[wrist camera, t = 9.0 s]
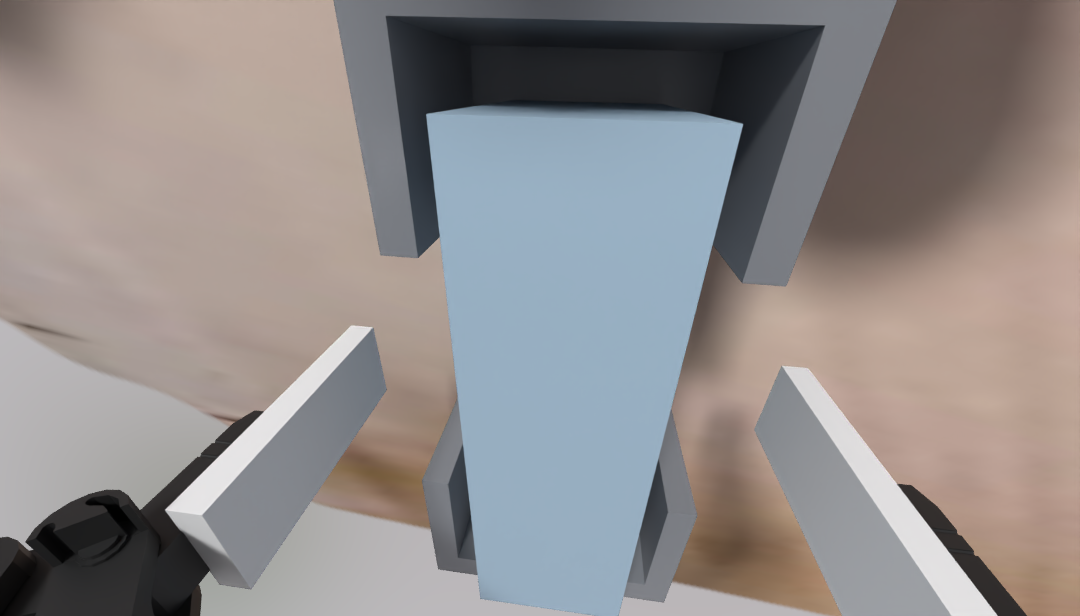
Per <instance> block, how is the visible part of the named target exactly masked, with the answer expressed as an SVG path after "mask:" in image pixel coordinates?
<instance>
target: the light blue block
mask: <svg viewBox="0 0 1080 616" xmlns="http://www.w3.org/2000/svg"><path fill="white" fill-rule="evenodd" d="M426 117H427V126H428V135H429V144H430V153H431V162H432V171H433V180H434V189H435V198H436V207H437V216H438V224H439V233H440V242H441V251H442V260H443V269H444V278H445V287H446V296H447V305H448V314H449V323H450V332H451V341H452V350H453V359H454V368H455V376H456V385H457V394H458V403H459V412H460V421H461V430H462V439H463V448H464V457H465V466H466V475H467V484H468V493H469V502H470V511H471V520H472V529H473V537H474V546H475V555H476V564H477V573H478V582H479V591H480V599H485V600H493V601H499V602H506V603H513V604H519V605H526V606H533V607H540V608H547V609H554V610H560V611H567V612H574V613H581V614H588V615H594V616H619V612H620V608H621V604H622V600H623V596H624V592H625V588H626V584H627V580H628V576H629V572H630V568H631V564H632V560H633V557H634V553H635V549H636V545H637V541H638V537H639V533H640V529H641V525H642V521H643V517H644V513H645V509H646V505H647V501H648V497H649V493H650V490H651V486H652V482H653V478H654V474H655V470H656V466H657V462H658V458H659V454H660V450H661V446H662V442H663V438H664V434H665V430H666V426H667V422H668V419H669V415H670V411H671V407H672V403H673V399H674V395H675V391H676V387H677V383H678V379H679V375H680V371H681V367H682V363H683V359H684V355H685V352H686V348H687V344H688V340H689V336H690V332H691V328H692V324H693V320H694V316H695V312H696V308H697V304H698V300H699V296H700V292H701V288H702V284H703V281H704V277H705V273H706V269H707V265H708V261H709V257H710V253H711V249H712V245H713V241H714V237H715V233H716V229H717V225H718V221H719V217H720V214H721V210H722V206H723V202H724V198H725V194H726V190H727V186H728V182H729V178H730V174H731V170H732V166H733V162H734V158H735V154H736V150H737V146H738V143H739V139H740V135H741V131H742V127H743V124H742V123H738V122H734V121H729V120H725V119H721V118H717V117H713V116H709V115H705V114H701V113H697V112H693V111H689V110H685V109H680V108H676V107H672V106H668V105H664V104H644V103H607V102H570V101H533V100H509V101H503V102H497V103H491V104H485V105H478V106H472V107H466V108H460V109H454V110H448V111H442V112H435V113H429V114H426Z"/></svg>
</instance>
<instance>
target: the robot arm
mask: <svg viewBox="0 0 1080 616" xmlns="http://www.w3.org/2000/svg"><path fill="white" fill-rule="evenodd" d="M386 390H387V389H386V385H385V380H384V375H383V371H382V366H381V361H380V357H379V352H378V348H377V343H376V338H375V334H374V329H373V327H363V326H353V325H351V326H350V327H349V328H348V329H347V330H346V331H345V332H344V333H343V334H342V335H341V336H340V337H339V338H338V339H337V340H336V341H335V342H334V343H333V344H332V345H331V346H330V347H329V348H328V349H327V350H326V351H325V352H324V353H323V354H322V355H321V356H320V357H319V358H318V359H317V360H316V361H315V362H314V363H313V364H312V365H311V366H310V367H309V368H308V369H307V370H306V371H305V372H304V373H303V374H302V375H301V376H300V377H299V378H298V379H297V380H296V381H295V382H294V383H293V384H292V385H291V386H290V387H289V388H288V389H287V390H286V391H285V392H284V393H283V394H282V395H281V396H280V397H279V398H278V399H277V400H276V401H275V402H274V403H273V404H272V405H271V406H270V407H269V408H267V409H266V410H265V411H253V412H251V413H250V414H248V415H246V416H245V417H243V418H242V419H240V420H238V421H237V422H235V423H233V424H232V425H231V426H230V427H229V428H228V429H227V430H226V431H225V432H223V433H222V434H221V435H220V436H219V437H218V438H217V439H216V441H215V443H212V444H211V445H210V446H209V447H207V448H206V449H205V450H204V451H203V452H202V453H201V456H200V457H197V458H196V459H195V460H194V461H193V462H191V463H190V464H189V465H188V466H187V467H186V468H185V469H184V470H183V471H182V472H181V473H180V474H179V475H178V476H177V477H175V478H174V479H173V480H172V481H171V482H170V483H169V484H168V485H167V486H166V487H165V488H164V489H163V490H162V491H161V492H160V493H158V494H157V495H156V496H155V497H154V498H153V499H152V500H151V501H150V502H149V503H148V504H147V505H146V506H145V507H143V509H141V510H139V509H138V507H137V506H136V505H135V504H134V502H133V501H132V500H131V499H130V497H129V496H128V495H127V494H125V493H124V492H122V491H121V490H104V491H99V492H95V493H92V494H88V495H86V496H84V497H81V498H79V499H77V500H75V501H72V502H70V503H68V504H67V505H65V506H64V507H62V508H60V509H59V510H57V511H56V512H54V513H52V514H51V515H50V516H48V517H47V518H46V519H45V520H44V521H43V522H42V523H41V524H39V525H38V526H37V527H36V528H35V529H34V530H33V532H32V533H31V535H30V536H29V537H28V539H27V540H26V543H27V544H28V545H29V546H30V547H31V548H32V549H33V550H31V551H29V550H27V549H26V548H25V547H24V546H23V545H22V544H21V543H20V542H19V541H17V540H15V539H12V538H10V537H2V538H0V616H200V610H201V596H202V595H201V590H200V586H199V585H198V584H199V583H200V582H201V581H202V579H203V578H204V577H205V575H206V574H207V573H208V572H209V571H210V572H211V573H212V575H213V576H214V578H215V579H216V580H217V581H218V583H219V584H220V585H226V586H232V587H239V588H245V589H252V587H253V586H254V585H255V583H256V581H257V580H258V579H259V577H260V576H261V574H262V573H263V571H264V570H265V568H266V567H267V565H268V564H269V562H270V561H271V559H272V558H273V557H274V555H275V554H276V552H277V551H278V549H279V548H280V546H281V545H282V543H283V542H284V540H285V539H286V537H287V536H288V534H289V533H290V532H291V530H292V529H293V527H294V526H295V524H296V523H297V521H298V520H299V518H300V517H301V515H302V514H303V512H304V511H305V509H306V508H307V506H308V505H309V504H310V502H311V501H312V499H313V498H314V496H315V495H316V493H317V492H318V490H319V489H320V487H321V486H322V484H323V483H324V481H325V480H326V479H327V477H328V476H329V474H330V473H331V471H332V470H333V468H334V467H335V465H336V464H337V462H338V461H339V459H340V458H341V456H342V455H343V454H344V452H345V451H346V449H347V448H348V446H349V445H350V443H351V442H352V440H353V439H354V437H355V436H356V434H357V433H358V431H359V430H360V428H361V427H362V426H363V424H364V423H365V421H366V420H367V418H368V417H369V415H370V414H371V412H372V411H373V409H374V408H375V406H376V405H377V403H378V402H379V401H380V399H381V398H382V396H383V395H384V393H385V392H386ZM754 430H755V432H756V434H757V436H758V439H759V441H760V443H761V445H762V447H763V449H764V451H765V453H766V455H767V458H768V460H769V462H770V464H771V466H772V468H773V470H774V472H775V475H776V477H777V479H778V481H779V483H780V485H781V487H782V489H783V491H784V494H785V496H786V498H787V500H788V502H789V504H790V506H791V508H792V511H793V513H794V515H795V517H796V519H797V521H798V523H799V525H800V527H801V530H802V532H803V534H804V536H805V538H806V540H807V542H808V544H809V547H810V549H811V551H812V553H813V555H814V557H815V559H816V561H817V563H818V566H819V568H820V570H821V572H822V574H823V576H824V578H825V580H826V583H827V585H828V587H829V589H830V591H831V593H832V595H833V597H834V599H835V602H836V604H837V606H838V608H839V610H840V612H841V614H842V616H1027V615H1026V614H1025V613H1024V611H1023V610H1022V609H1021V608H1020V606H1019V605H1018V604H1017V603H1016V602H1015V600H1014V599H1013V598H1012V597H1011V596H1010V594H1009V593H1008V592H1007V591H1006V589H1005V588H1004V587H1003V586H1002V585H1001V583H1000V582H999V581H998V580H997V578H996V577H995V576H994V575H993V574H992V572H991V571H990V570H989V569H988V568H987V566H986V565H985V564H984V563H983V561H982V560H981V559H980V558H979V557H978V556H975V555H974V551H973V549H972V548H971V547H970V546H969V544H968V543H967V542H966V541H965V540H964V538H963V537H962V536H960V535H958V534H957V530H956V529H955V527H954V526H953V525H952V524H951V523H950V521H949V520H948V519H947V518H946V516H945V515H944V514H943V513H942V512H941V510H940V509H939V508H938V507H937V506H936V505H935V504H934V503H932V502H931V501H930V500H929V499H927V498H926V497H925V496H924V495H923V494H921V493H920V492H919V491H918V490H917V489H915V488H914V487H913V486H912V485H903V484H896V482H895V481H894V480H893V479H892V477H891V476H890V475H889V473H888V472H887V471H886V469H885V468H884V467H883V465H882V464H881V463H880V462H879V460H878V459H877V458H876V456H875V455H874V454H873V452H872V451H871V450H870V449H869V447H868V446H867V445H866V443H865V442H864V441H863V439H862V438H861V437H860V435H859V434H858V433H857V432H856V430H855V429H854V428H853V426H852V425H851V424H850V422H849V421H848V420H847V418H846V417H845V416H844V415H843V413H842V412H841V411H840V409H839V408H838V407H837V405H836V404H835V403H834V402H833V400H832V399H831V398H830V396H829V395H828V394H827V392H826V391H825V390H824V388H823V387H822V386H821V385H820V383H819V382H818V381H817V379H816V378H815V377H814V375H813V374H812V373H811V372H810V370H809V369H808V368H801V367H790V366H781V369H780V371H779V373H778V376H777V378H776V380H775V383H774V385H773V387H772V390H771V392H770V394H769V397H768V399H767V401H766V404H765V406H764V408H763V411H762V413H761V415H760V418H759V420H758V422H757V424H756V427H755V429H754Z"/></svg>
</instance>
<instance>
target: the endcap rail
mask: <svg viewBox="0 0 1080 616" xmlns="http://www.w3.org/2000/svg"><path fill="white" fill-rule="evenodd" d="M896 1H897V0H334V6H335V11H336V17H337V22H338V27H339V33H340V38H341V44H342V49H343V55H344V60H345V65H346V71H347V76H348V82H349V87H350V93H351V98H352V103H353V109H354V114H355V120H356V125H357V131H358V136H359V141H360V147H361V152H362V158H363V163H364V169H365V174H366V179H367V185H368V190H369V196H370V201H371V207H372V212H373V217H374V223H375V228H376V234H377V239H378V245H379V250H380V255H384V256H397V257H410V258H419V257H420V256H421V255H422V254H423V253H424V252H425V251H426V250H427V249H428V248H429V247H430V246H431V245H432V244H433V243H434V242H435V241H436V240H437V239H438V238H439V237H440V233H439V224H438V216H437V207H436V198H435V189H434V180H433V171H432V162H431V153H430V144H429V135H428V126H427V117H426V114H429V113H435V112H442V111H448V110H454V109H460V108H466V107H472V106H478V105H485V104H491V103H497V102H503V101H509V100H533V101H570V102H607V103H644V104H664V105H668V106H672V107H676V108H680V109H685V110H689V111H693V112H697V113H701V114H705V115H709V116H713V117H717V118H721V119H725V120H729V121H734V122H738V123H742V124H743V127H742V131H741V135H740V139H739V143H738V146H737V150H736V154H735V158H734V162H733V166H732V170H731V174H730V178H729V182H728V186H727V190H726V194H725V198H724V202H723V206H722V210H721V214H720V217H719V221H718V225H717V229H716V233H715V237H714V241H713V246H714V247H715V248H716V249H717V251H718V252H719V253H720V255H721V256H722V257H723V259H724V260H725V261H726V263H727V264H728V265H729V267H730V268H731V269H732V270H733V272H734V273H735V274H736V276H737V277H738V278H739V280H740V281H741V282H742V283H747V284H760V285H773V286H786V285H787V283H788V280H789V278H790V275H791V273H792V270H793V267H794V265H795V262H796V260H797V257H798V254H799V252H800V249H801V247H802V244H803V242H804V239H805V236H806V234H807V231H808V229H809V226H810V223H811V221H812V218H813V216H814V213H815V211H816V208H817V205H818V203H819V200H820V198H821V195H822V192H823V190H824V187H825V185H826V182H827V180H828V177H829V174H830V172H831V169H832V167H833V164H834V161H835V159H836V156H837V154H838V151H839V149H840V146H841V143H842V141H843V138H844V136H845V133H846V130H847V128H848V125H849V123H850V120H851V118H852V115H853V112H854V110H855V107H856V105H857V102H858V99H859V97H860V94H861V92H862V89H863V87H864V84H865V81H866V79H867V76H868V74H869V71H870V68H871V66H872V63H873V61H874V58H875V56H876V53H877V50H878V48H879V45H880V43H881V40H882V37H883V35H884V32H885V30H886V27H887V25H888V22H889V19H890V17H891V14H892V12H893V9H894V6H895V4H896ZM422 484H423V489H424V494H425V500H426V505H427V511H428V516H429V522H430V527H431V532H432V538H433V543H434V549H435V554H436V560H437V565H438V569H440V570H447V571H453V572H460V573H468V574H474V575H478V573H477V564H476V555H475V546H474V537H473V529H472V520H471V511H470V502H469V493H468V484H467V475H466V466H465V457H464V448H463V439H462V430H461V421H460V412H459V403H458V399H457V401H456V403H455V406H454V408H453V410H452V413H451V415H450V417H449V419H448V422H447V424H446V426H445V429H444V431H443V433H442V436H441V438H440V440H439V443H438V445H437V447H436V449H435V452H434V454H433V456H432V459H431V461H430V463H429V466H428V468H427V470H426V473H425V475H424V477H423V479H422ZM696 518H697V512H696V508H695V504H694V500H693V496H692V492H691V488H690V484H689V480H688V476H687V472H686V467H685V463H684V459H683V455H682V451H681V447H680V443H679V439H678V435H677V431H676V427H675V422H674V418H673V414H672V410H671V411H670V415H669V419H668V422H667V426H666V430H665V434H664V438H663V442H662V446H661V450H660V454H659V458H658V462H657V466H656V470H655V474H654V478H653V482H652V486H651V490H650V493H649V497H648V501H647V505H646V509H645V513H644V517H643V521H642V525H641V529H640V533H639V537H638V541H637V545H636V549H635V553H634V557H633V560H632V564H631V568H630V572H629V576H628V580H627V584H626V588H625V592H624V596H623V597H631V598H637V599H644V600H651V601H658V602H664V601H665V598H666V595H667V592H668V590H669V588H670V585H671V583H672V580H673V577H674V575H675V572H676V570H677V567H678V564H679V562H680V559H681V557H682V554H683V552H684V549H685V546H686V544H687V541H688V539H689V536H690V533H691V531H692V528H693V526H694V523H695V521H696Z"/></svg>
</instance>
